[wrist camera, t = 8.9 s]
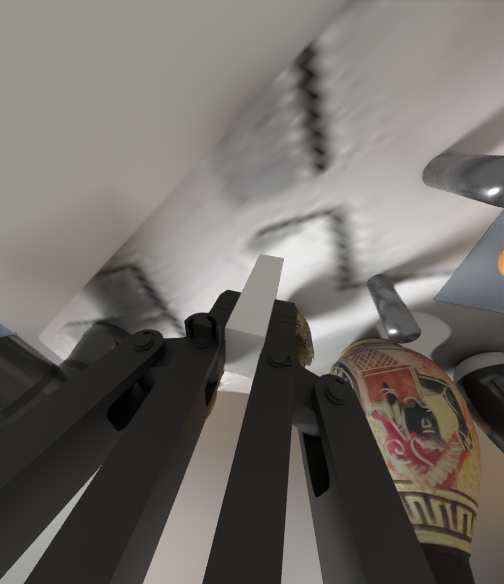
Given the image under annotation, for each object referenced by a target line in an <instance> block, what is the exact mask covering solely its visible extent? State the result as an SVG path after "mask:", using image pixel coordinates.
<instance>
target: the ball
mask: <svg viewBox="0 0 504 584" xmlns="http://www.w3.org/2000/svg"><path fill="white" fill-rule="evenodd" d="M498 267H499V270H500V272H501V274H502V275H503V276H504V249H503V250H502V251H501V253H500V255H499V258H498Z"/></svg>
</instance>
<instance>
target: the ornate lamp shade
mask: <svg viewBox="0 0 504 584" xmlns="http://www.w3.org/2000/svg"><path fill="white" fill-rule="evenodd" d="M313 350H314V349H313V344H312V338H311V332H310V328H309V325H308V323H307V321H306V319H305V318H304V317H303V316H302V315H301V314H300V313H299V312H298V313H297V325H296V339H295V355H296V358H297V360H298V361H299V363H300V364H301V365H302V366H303V367H304V368H305V366H306V365H308V366H310V365H311V361H312V358H313V359H314V351H313Z"/></svg>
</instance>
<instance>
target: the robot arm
mask: <svg viewBox="0 0 504 584" xmlns="http://www.w3.org/2000/svg"><path fill="white" fill-rule="evenodd" d="M283 261H284V258H279V257H273V256H268V255H262V254H260V256H259V258H258V260H257V262H256V264H255V266H254V268H253V270H252V272H251V274H250V276H249V278H248V280H247V283H246V285H245V287H244V289H243V291H242V293H241V292H236V291H231V290H226V291H225V292H223V293H222V294H220V296H219V297H218V299H217V301H216V302H215V304H214V305H213V308H212V309H211V310H210V312H209V313H196V314H193V315H191V316H189V317H188V318H187V319H186V320H185V321H184V322H185V329H186V335H187V336H186V337H182V338H163V336H162V334H161V333H160V332H158V331H156V330H152V329H151V330H142V331H139V332H136V333H135V334H133V335H131V336H130V335H129V334H128V333H126V332H124V331H123V330H121V329H119V328H116V327H114V326H111V325H107V324H96V325H93V326H92V327H91V328H90V329H88V330H87V331H86V332H85V333H84V334H83V336H82V339H81V340H80V341H79V343H78V344H77V345H76V347H75V348H74V349H73V351H72V353H71V354H70V356H69V357H68V358H67V359H66V360H65V361H63V363H61V364H60V365H59V366H57V365H56V364H54V363H53V362H52V361H51V360H49V359H48V358H46V357H45V356H44V355H43V354H41V353H40V352H39V351H37V350H36V349H35V348H33V347H32V346H31V345H29V344H28V343H27V342H26V341H24V340H23V339H21V338H20V337H19V336H18V335H17V333H16V332H13V331H11V330H9V329H8V328H6V327H5V326H4V325H2V324H1V323H0V579H1V578H2V577H3V576H4V575H5V573H6V572H7V571H8V570H9V569H10V568H11V567H12V565H13V564H14V563H15V562H16V561H17V560H18V559H19V558H20V557H21V555H22V554H23V553H24V552H25V551H26V550H27V549H28V547H29V546H30V545H31V544H32V543H33V542H34V541H35V540H36V538H37V537H38V536H39V535H40V534H41V533H42V532H43V531H44V529H45V528H46V527H47V526H48V525H49V524H50V523H51V522H52V520H53V519H54V518H55V517H56V516H57V515H58V514H59V513H60V511H61V510H62V509H63V508H64V507H65V506H66V504H68V502H69V501H70V500H71V499H72V498H73V497H74V496H75V495H76V493H77V492H78V491H79V490H80V489H81V488H82V487H83V486H84V484H85V483H86V482H87V481H88V480H89V478H91V476H92V475H93V474H94V473H95V472H96V471H97V470H98V468H100V469H99V470H98V472H97V473H96V475H95V476H94V478H93V480H92V481H91V482H90V484H89V486H88V487H87V489H86V490H85V492H84V493H83V495H82V496H81V498H80V499H79V501H78V502H77V504H76V505H75V507H74V508H73V510H72V511H71V513H70V514H69V516H68V517H67V519H66V520H65V522H64V524H63V525H62V527H61V528H60V530H59V531H58V533H57V534H56V536H55V537H54V539H53V540H52V542H51V543H50V545H49V546H48V548H47V549H46V551H45V552H44V554H43V555H42V557H41V558H40V560H39V562H38V563H37V565H36V566H35V568H34V569H33V571H32V572H31V574H30V575H29V577H28V578H27V580H26V581H25V583H24V584H143V581H144V579H145V576H146V574H147V571H148V569H149V566H150V563H151V561H152V558H153V556H154V553H155V550H156V548H157V545H158V543H159V540H160V537H161V535H162V532H163V529H164V527H165V524H166V522H167V519H168V516H169V514H170V511H171V509H172V506H173V503H174V501H175V498H176V496H177V493H178V490H179V488H180V485H181V483H182V480H183V477H184V475H185V472H186V469H187V467H188V464H189V462H190V459H191V457H192V454H193V451H194V449H195V446H196V443H197V441H198V438H199V436H200V433H201V431H202V428H203V425H204V423H205V420H206V418H207V415H208V412H209V410H210V407H211V405H212V402H213V399H214V397H215V394H216V392H217V389H218V386H219V384H220V379H221V372H222V370H223V367H224V371H228V372H231V373H235V374H239V375H242V376H246V377H250V378H254V379H253V383H252V387H251V391H250V396H249V399H248V403H247V408H246V411H245V415H244V419H243V423H242V428H241V431H240V436H239V439H238V443H237V447H236V451H235V455H234V459H233V463H232V467H231V472H230V476H229V479H228V484H227V487H226V491H225V495H224V499H223V504H222V507H221V511H220V515H219V519H218V523H217V527H216V531H215V535H214V539H213V543H212V548H211V551H210V556H209V559H208V563H207V567H206V571H205V575H204V579H203V583H202V584H281V575H282V560H283V546H284V531H285V517H286V501H287V487H288V473H289V459H290V443H291V429H292V425H294V426H295V427H297V428H298V434H299V440H300V446H301V451H302V458H303V464H304V470H305V476H306V482H307V488H308V494H309V500H310V506H311V512H312V518H313V524H314V530H315V536H316V542H317V549H318V555H319V561H320V567H321V572H322V578H323V584H437V583H436V581H435V578H434V576H433V573H432V571H431V569H430V566H429V564H428V562H427V559H426V557H425V555H424V552H423V550H422V548H421V545H420V543H419V540H418V538H417V536H416V533H415V531H414V529H413V526H412V524H411V522H410V519H409V517H408V514H407V512H406V510H405V507H404V505H403V503H402V500H401V498H400V496H399V493H398V491H397V489H396V486H395V484H394V481H393V479H392V477H391V474H390V472H389V470H388V467H387V465H386V463H385V460H384V458H383V455H382V453H381V451H380V448H379V446H378V444H377V441H376V439H375V437H374V434H373V432H372V430H371V427H370V425H369V422H368V420H367V418H366V415H365V413H364V411H363V408H362V406H361V404H360V401H359V399H358V396H357V394H356V392H355V391H354V389H353V387H352V386H351V385H350V384H349V383H348V382H347V381H346V380H344V379H343V378H341V377H339V376H337V375H332V374H326V375H322V376H321V377H319V376H317V375H316V374H314V373H312V372H310V371H309V370H307V369H306V368H304V367H303V366H302V365H301V364H300V363H299V361H298V360H297V358H296V355H295V339H296V325H297V313H298V310H297V308H296V306H295V304H294V303H291V302H286V301H281V300H277V299H276V296H277V291H278V286H279V281H280V276H281V271H282V266H283ZM101 465H102V466H101ZM100 466H101V467H100Z"/></svg>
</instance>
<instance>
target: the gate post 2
mask: <svg viewBox="0 0 504 584" xmlns="http://www.w3.org/2000/svg"><path fill="white" fill-rule="evenodd" d="M423 181H424V183H425V184H426V185H428V186H430V187H434V188H437V189H441V190H444V191H447V192H451V193H454V194H457V195H461V196H464V197H467V198H471V199H474V200H477V201H481V202H484V203H487V204H491V205H494V206H497V207H503V208H504V156H499V155H462V154H444V155H440V156H438V157H436V158H434V159H433V160H432V161H431V162H430V163H429V164H428V165H427V166H426V168H425V169H424V172H423Z"/></svg>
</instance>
